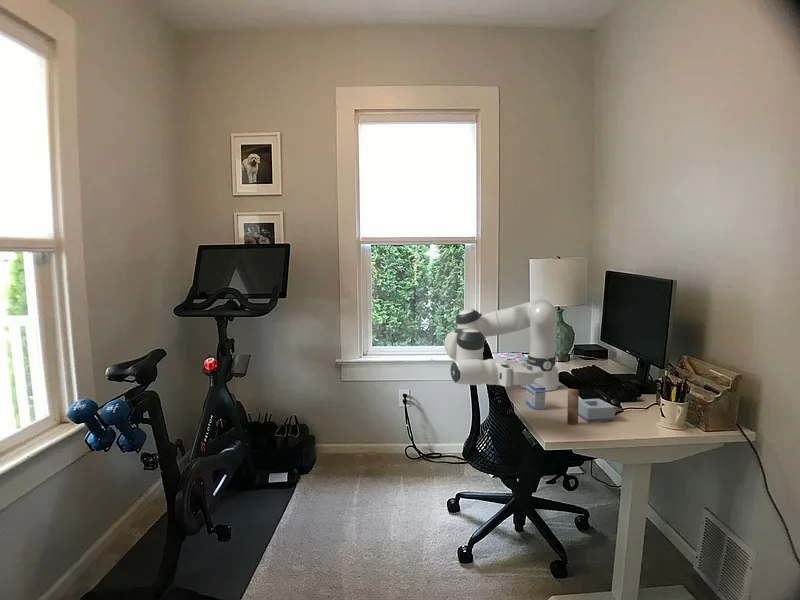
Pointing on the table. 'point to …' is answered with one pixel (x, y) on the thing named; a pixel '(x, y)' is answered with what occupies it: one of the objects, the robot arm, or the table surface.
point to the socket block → (595, 410)
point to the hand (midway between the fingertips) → (537, 371)
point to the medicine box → (535, 396)
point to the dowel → (572, 407)
